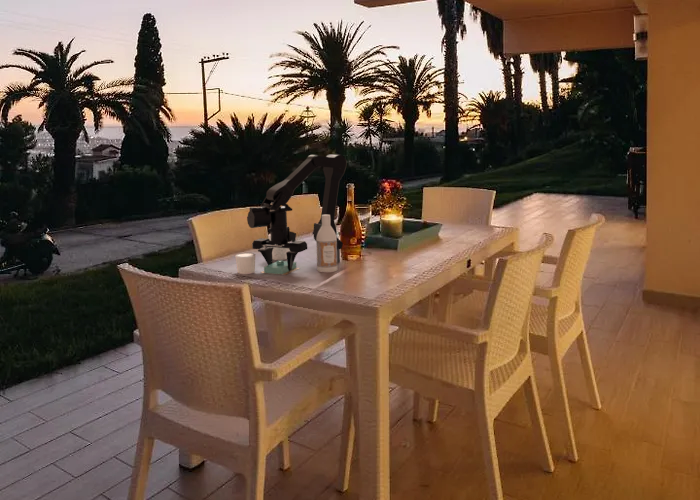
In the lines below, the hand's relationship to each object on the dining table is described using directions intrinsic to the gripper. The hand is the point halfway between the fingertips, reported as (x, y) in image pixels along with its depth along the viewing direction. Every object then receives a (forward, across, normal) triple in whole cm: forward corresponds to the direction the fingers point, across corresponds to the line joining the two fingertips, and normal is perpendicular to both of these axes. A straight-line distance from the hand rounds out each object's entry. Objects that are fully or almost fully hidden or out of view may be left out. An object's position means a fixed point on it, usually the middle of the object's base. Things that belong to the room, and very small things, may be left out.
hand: (280, 269), depth 207 cm
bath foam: (+1, -15, -6) cm, 16 cm away
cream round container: (+1, +10, +6) cm, 12 cm away
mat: (+1, 0, 0) cm, 1 cm away
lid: (0, 0, 0) cm, 0 cm away
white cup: (+2, +10, -17) cm, 20 cm away
